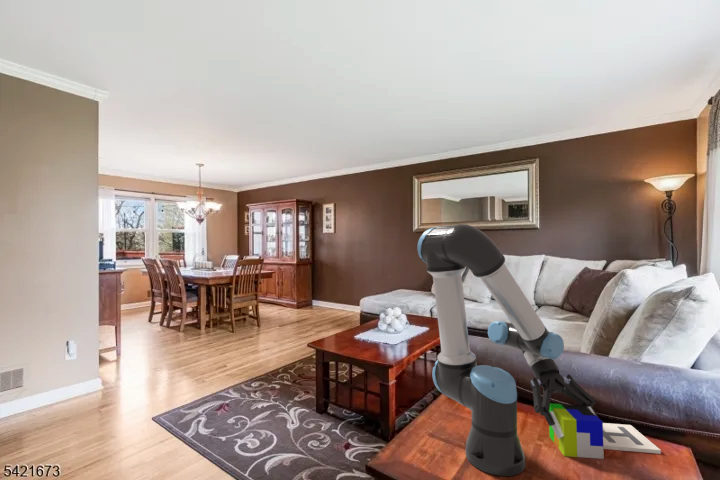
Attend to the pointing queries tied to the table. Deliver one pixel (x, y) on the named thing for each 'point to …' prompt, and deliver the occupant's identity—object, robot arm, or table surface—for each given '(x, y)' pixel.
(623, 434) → the letter board
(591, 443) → the puzzle toy
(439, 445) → the table surface
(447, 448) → the table surface
